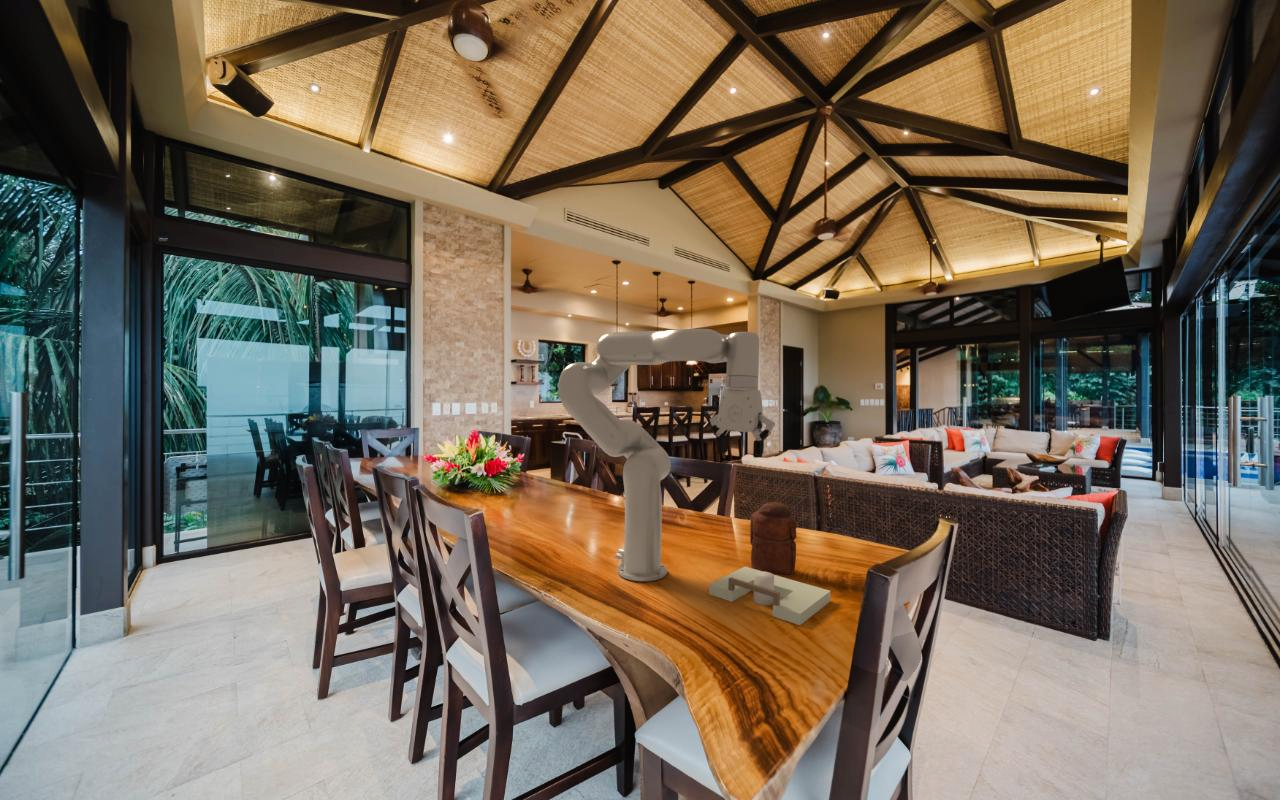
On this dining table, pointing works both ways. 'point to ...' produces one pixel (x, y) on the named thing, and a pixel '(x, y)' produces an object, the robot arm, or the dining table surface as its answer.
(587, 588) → the dining table surface
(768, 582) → the white cylinder
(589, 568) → the dining table surface
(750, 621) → the dining table surface
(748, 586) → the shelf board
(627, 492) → the robot arm
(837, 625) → the dining table surface
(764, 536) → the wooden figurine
